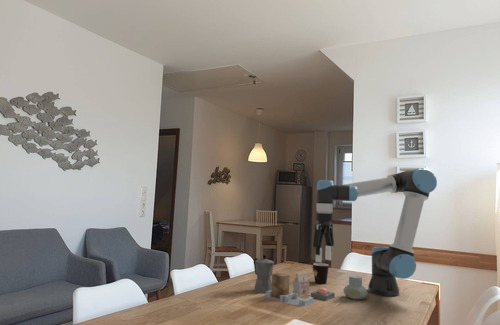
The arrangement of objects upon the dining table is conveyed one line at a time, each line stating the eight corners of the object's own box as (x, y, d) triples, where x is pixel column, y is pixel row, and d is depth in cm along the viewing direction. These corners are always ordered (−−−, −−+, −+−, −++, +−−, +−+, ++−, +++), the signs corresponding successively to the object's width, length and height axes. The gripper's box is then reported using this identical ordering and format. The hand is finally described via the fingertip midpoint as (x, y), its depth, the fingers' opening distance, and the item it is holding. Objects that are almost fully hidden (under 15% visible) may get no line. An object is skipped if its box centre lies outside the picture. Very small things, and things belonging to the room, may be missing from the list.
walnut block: (288, 297, 166) (289, 275, 167) (284, 299, 163) (284, 276, 164) (276, 294, 171) (276, 272, 172) (271, 296, 167) (271, 274, 168)
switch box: (334, 299, 170) (334, 292, 171) (326, 302, 164) (326, 295, 165) (319, 296, 175) (319, 289, 176) (310, 299, 169) (311, 292, 169)
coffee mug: (329, 284, 200) (330, 266, 201) (314, 284, 200) (314, 265, 201) (325, 280, 212) (326, 262, 213) (311, 279, 212) (311, 261, 213)
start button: (328, 297, 170) (328, 288, 171) (324, 299, 167) (324, 290, 167) (320, 296, 173) (321, 287, 173) (316, 297, 170) (317, 288, 170)
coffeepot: (279, 295, 174) (280, 256, 176) (263, 297, 169) (264, 257, 171) (260, 287, 187) (262, 252, 189) (245, 289, 182) (246, 252, 184)
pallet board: (316, 303, 162) (316, 296, 162) (302, 309, 153) (302, 302, 153) (277, 294, 175) (277, 288, 175) (262, 299, 166) (262, 292, 166)
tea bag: (293, 295, 175) (293, 273, 176) (303, 293, 179) (304, 272, 180) (298, 296, 172) (299, 275, 173) (308, 295, 176) (309, 274, 177)
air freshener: (369, 298, 175) (369, 276, 176) (364, 302, 168) (365, 279, 169) (346, 294, 181) (346, 273, 182) (341, 298, 174) (341, 276, 175)
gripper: (327, 212, 185) (326, 257, 182) (305, 212, 168) (304, 262, 165) (341, 212, 180) (340, 259, 178) (320, 213, 163) (319, 264, 161)
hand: (323, 260), depth 172 cm, fingers open, 9 cm apart
